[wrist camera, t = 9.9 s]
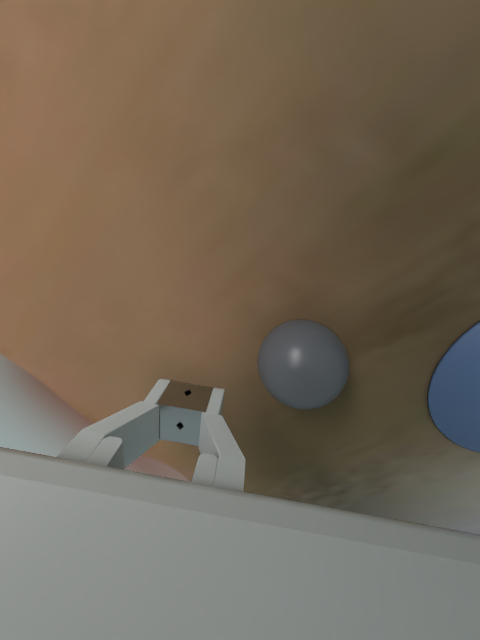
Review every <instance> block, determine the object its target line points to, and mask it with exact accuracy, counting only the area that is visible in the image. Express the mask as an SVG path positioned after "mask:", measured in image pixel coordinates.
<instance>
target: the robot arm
mask: <svg viewBox="0 0 480 640" xmlns="http://www.w3.org/2000/svg"><path fill="white" fill-rule="evenodd" d="M224 394H225V389H221V388H212V387H206V386H200V385H194V384H189V383H184V382H179V381H173V380H167V379H162V378H161V379H159V380H158V381H157V383H156V384H155V386H154V387H153V389H152V390H151V391H150V393H149V394H148V396H147V397H146V398H145V400H144V401H143V402H138V403H135V404H133V405H131V406H129V407H127V408H125V409H123V410H121V411H119V412H117V413H115V414H113V415H111V416H109V417H107V418H105V419H103V420H101V421H99V422H97V423H95V424H92V425H90V426H88V427H86V428H85V429H83V430H81V431H80V432H79V433H78V434H77V435H76V436H75V438H74V439H73V440H72V441H71V442H70V443H69V444H68V445H67V446H66V447H65V449H63V451H62V452H61V453H60V454H59V455H58V456H57V457H52V456H47V455H41V454H36V453H30V452H25V451H19V450H13V449H9V448H3V447H0V640H480V535H478V534H472V533H467V532H462V531H456V530H451V529H445V528H440V527H434V526H429V525H423V524H418V523H412V522H407V521H401V520H396V519H390V518H385V517H380V516H374V515H369V514H363V513H358V512H352V511H347V510H341V509H336V508H330V507H325V506H320V505H314V504H309V503H303V502H298V501H292V500H287V499H281V498H276V497H270V496H265V495H260V494H254V493H249V492H243V489H244V474H245V460H246V459H245V458H244V456H243V454H242V452H241V450H240V448H239V446H238V444H237V443H236V441H235V439H234V437H233V435H232V433H231V431H230V429H229V428H228V426H227V424H226V422H225V420H224V418H223V416H221V415H222V408H223V401H224ZM159 439H161V440H168V441H175V442H181V443H185V444H190V445H195V446H199V451H200V454H201V455H199V458H198V461H197V465H196V468H195V471H194V475H193V478H192V481H191V482H189V481H183V480H178V479H172V478H167V477H161V476H156V475H151V474H145V473H140V472H134V471H129V470H124V469H125V468H126V467H127V466H128V465H129V464H131V463H132V462H133V461H134V460H136V459H137V458H138V457H139V456H141V455H142V454H143V453H144V452H146V451H147V450H148V449H149V448H150V447H152V446H153V445H154V444H155V443H157V442H158V441H159Z"/></svg>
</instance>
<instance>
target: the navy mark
mask: <svg viewBox="0 0 480 640" xmlns="http://www.w3.org/2000/svg"><path fill="white" fill-rule="evenodd" d="M428 408H429V412H430V415H431V417H432V420H433V422H434V423H435V425H436V426H437V428H438V429H439V430H440V431H441V432H442V433H443V434H444V435H445V436H446V437H447V438H448V439H450V440H451V441H453V442H454V443H456V444H458V445H460V446H462V447H464V448H467V449H470V450H472V451H476V452H480V322H478V323H477V324H475V325H474V326H473V327H471V328H470V329H469V330H468V331H466V332H465V333H464V334H463V335H462V336H461V337H460V338H459V339H458V340H457V341H456V342H455V343H454V344H453V345H452V346H451V347H450V348H449V349H448V351H447V352H446V353H445V354H444V356H443V357H442V359H441V360H440V362H439V363H438V365H437V367H436V369H435V371H434V373H433V375H432V378H431V381H430V384H429V389H428Z"/></svg>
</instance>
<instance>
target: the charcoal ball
mask: <svg viewBox="0 0 480 640" xmlns="http://www.w3.org/2000/svg"><path fill="white" fill-rule="evenodd" d="M257 364H258V372H259V376H260V379H261V381H262V383H263V385H264V386H265V388H266V389H267V391H268V392H269V393H270V394H271V395H272V396H273V397H274V398H275V399H276V400H278V401H279V402H281V403H282V404H284V405H286V406H289V407H292V408H296V409H315V408H319V407H322V406H324V405H326V404H328V403H330V402H331V401H333V400H334V399H335V398H336V397H337V396H338V395H339V394H340V392H341V391H342V390H343V388H344V386H345V384H346V381H347V378H348V374H349V359H348V355H347V352H346V349H345V347H344V345H343V343H342V342H341V340H340V339H339V337H338V336H337V335H336V334H335V333H334V332H333V331H332V330H330V329H329V328H328V327H326V326H324V325H322V324H320V323H318V322H314V321H311V320H301V319H300V320H291V321H288V322H285V323H283V324H280V325H279V326H277V327H275V328H274V329H273V330H272V331H270V333H269V334H268V335H267V336H266V337H265V339H264V340H263V342H262V344H261V347H260V349H259V353H258V363H257Z"/></svg>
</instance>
